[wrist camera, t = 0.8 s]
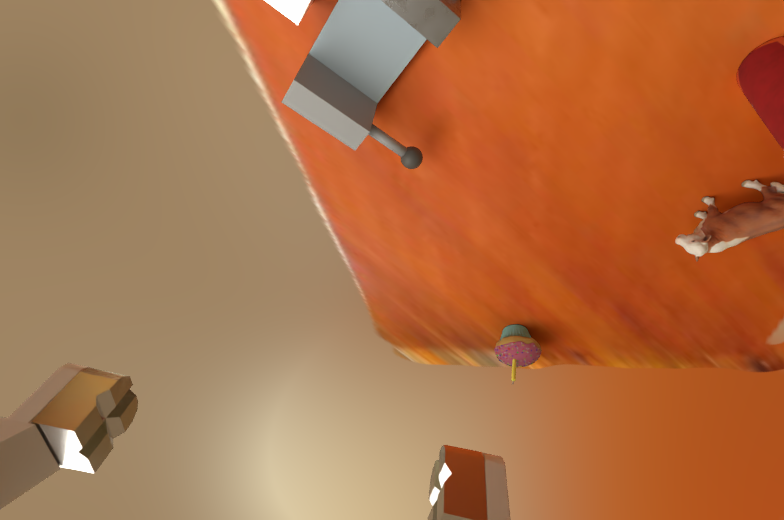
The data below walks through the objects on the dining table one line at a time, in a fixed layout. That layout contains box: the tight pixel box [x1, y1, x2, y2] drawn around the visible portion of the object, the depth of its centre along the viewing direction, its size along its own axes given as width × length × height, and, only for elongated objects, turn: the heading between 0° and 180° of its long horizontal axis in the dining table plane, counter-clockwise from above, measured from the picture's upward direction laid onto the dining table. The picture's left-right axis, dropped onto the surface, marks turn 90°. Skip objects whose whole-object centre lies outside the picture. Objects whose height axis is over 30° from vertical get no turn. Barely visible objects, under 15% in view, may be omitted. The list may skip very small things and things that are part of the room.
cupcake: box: [495, 325, 541, 384], centre depth 79 cm, size 9×8×12 cm
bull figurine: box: [675, 180, 784, 261], centre depth 52 cm, size 4×13×8 cm, turn 125°
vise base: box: [282, 0, 426, 169], centre depth 43 cm, size 18×17×8 cm
